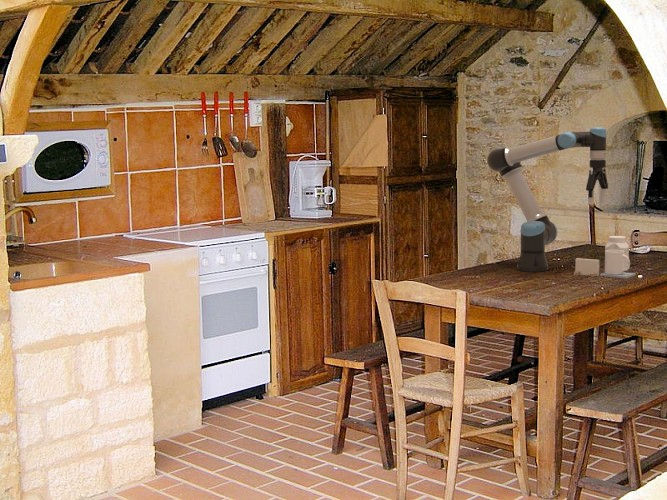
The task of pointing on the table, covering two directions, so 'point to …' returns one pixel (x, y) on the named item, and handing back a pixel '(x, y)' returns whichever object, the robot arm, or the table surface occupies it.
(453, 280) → the table surface
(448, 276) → the table surface
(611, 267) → the mug
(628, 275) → the plate
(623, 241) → the jar
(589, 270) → the beige block
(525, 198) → the robot arm
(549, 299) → the table surface
